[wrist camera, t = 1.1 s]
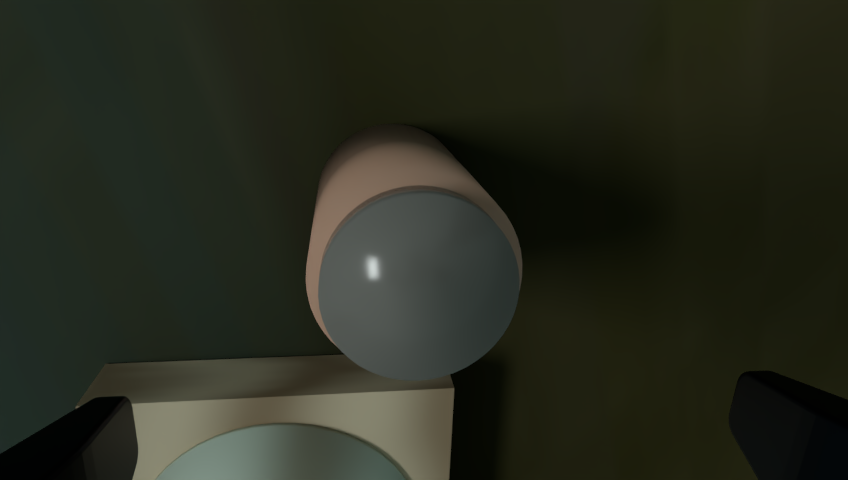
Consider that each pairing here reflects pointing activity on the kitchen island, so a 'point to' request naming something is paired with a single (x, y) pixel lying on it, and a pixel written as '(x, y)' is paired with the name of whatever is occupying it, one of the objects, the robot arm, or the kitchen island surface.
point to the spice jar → (409, 256)
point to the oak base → (282, 420)
